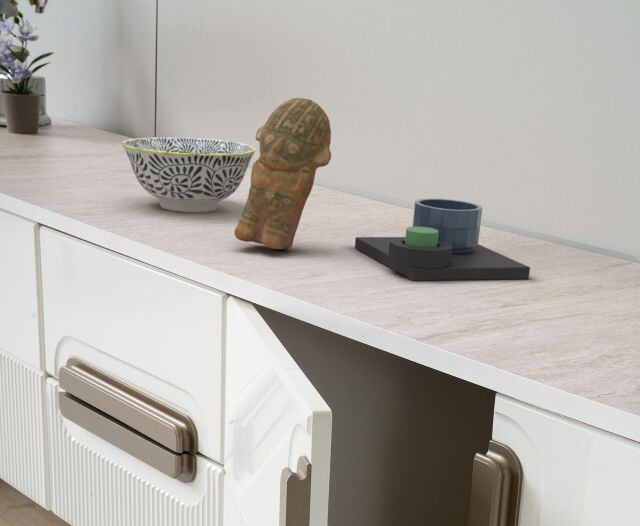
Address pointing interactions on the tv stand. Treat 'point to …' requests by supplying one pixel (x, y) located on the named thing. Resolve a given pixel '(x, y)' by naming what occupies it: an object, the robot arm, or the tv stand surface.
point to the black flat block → (440, 261)
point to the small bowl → (450, 221)
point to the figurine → (284, 172)
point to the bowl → (188, 170)
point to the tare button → (421, 237)
